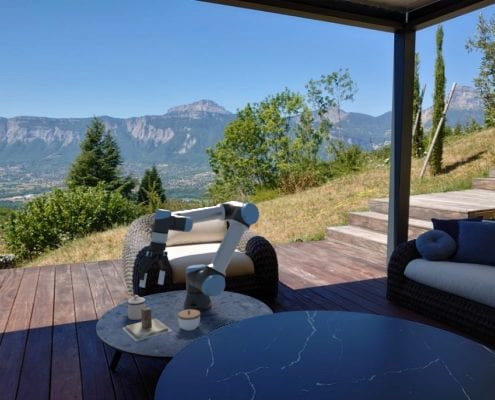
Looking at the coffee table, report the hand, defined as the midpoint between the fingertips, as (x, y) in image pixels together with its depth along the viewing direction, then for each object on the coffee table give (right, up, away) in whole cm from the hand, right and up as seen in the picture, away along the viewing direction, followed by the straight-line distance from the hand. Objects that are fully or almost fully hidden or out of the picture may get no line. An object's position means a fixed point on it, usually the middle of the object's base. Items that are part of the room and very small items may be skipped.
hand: (151, 285), depth 195 cm
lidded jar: (+18, -21, +2) cm, 28 cm away
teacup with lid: (-13, -20, +18) cm, 30 cm away
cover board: (-2, -21, 0) cm, 21 cm away
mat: (-2, -22, +1) cm, 22 cm away
